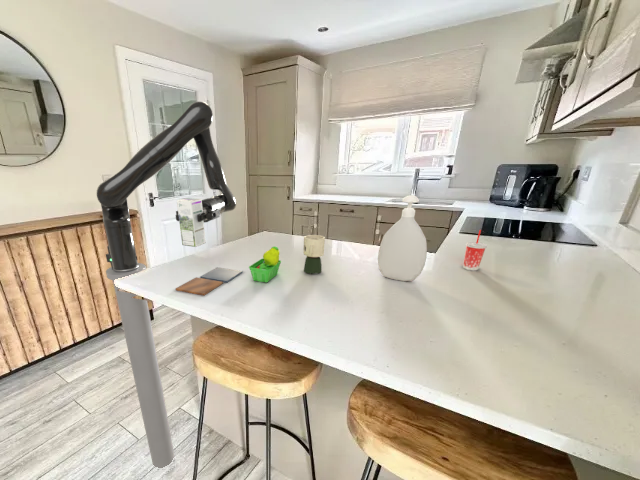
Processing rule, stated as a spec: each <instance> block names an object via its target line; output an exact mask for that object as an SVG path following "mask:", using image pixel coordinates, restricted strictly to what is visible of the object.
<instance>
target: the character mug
mask: <svg viewBox="0 0 640 480" xmlns="http://www.w3.org/2000/svg"><path fill="white" fill-rule="evenodd" d="M325 242H326V237H325V236H324V235H319V234H308V235H304V236H303V255H304V256H305V261H304V265H303V272H304V273H305V274H311V275H313V274H321V273H322V271H323V270H322V269H323V268H322V258H321V257H323V256H324V254H325Z"/></svg>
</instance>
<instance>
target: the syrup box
mask: <svg viewBox="0 0 640 480" xmlns="http://www.w3.org/2000/svg"><path fill="white" fill-rule="evenodd" d="M202 200H203V199H202V198H188V197H185V198H180V199H177V200H176V207H177V211H178V215H179V221H178V222H179V228H180V229H179V230H180V238H181V245H182V246H186V247H193V248H196V247H200V246H203V245H204V244H206V233H205V222H204V221H201V222H198V219H197V215H198V214H200V213H203V209H202Z"/></svg>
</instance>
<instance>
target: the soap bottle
mask: <svg viewBox="0 0 640 480" xmlns="http://www.w3.org/2000/svg"><path fill="white" fill-rule="evenodd" d="M401 202H402V203H407V206H406V207H404V208H403V209H402V211H401V217H400V219H399V220H397V221H396V222H395V223H394V224H393V225H392V226H391V227H390V228H389V229H388V230H387V231H386V232H385V233H384V235H383V237H382V239H381V242H380V244H379V248H378V252H377V253H378V254H377V264H378V269H379V271H380V273H381V275H382V276H383V277H384V278H386V279H391V280H395V281H401V282H412V281H415V280H416V279H417V278H418V277H419V276H420V275H421V274H422V272H423V270H424V268H425V266H426V262H427V257H428V256H427V255H428V254H427V253H428V246H427V238H426V235H425V234H424V232H423V230H422V227H421V226H420V224H419V223H418V222H417V221H416V218H415V215H416V209H415V207H413V203H420V199H419V198H418V197H417V195H415V194H414V195H413V194H409V195H406V196H404V197H403V198H402V199H401Z"/></svg>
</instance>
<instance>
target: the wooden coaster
mask: <svg viewBox="0 0 640 480" xmlns="http://www.w3.org/2000/svg"><path fill="white" fill-rule="evenodd" d="M223 284H224V282H221V281H215V280H209V279H203V278H200V277H197V276H196V277H193V278H192V279H190V280H189V281H187V282H185V283H183V284H181V285H179V286H178V287H175V291H178V292H183V293H187V294H188V293H189V294H194V295H199V296H206V295H207V294H209V293H211V292H212V291H214V290H215V289H217V288H218V287H220V286H221V285H223Z"/></svg>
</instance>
